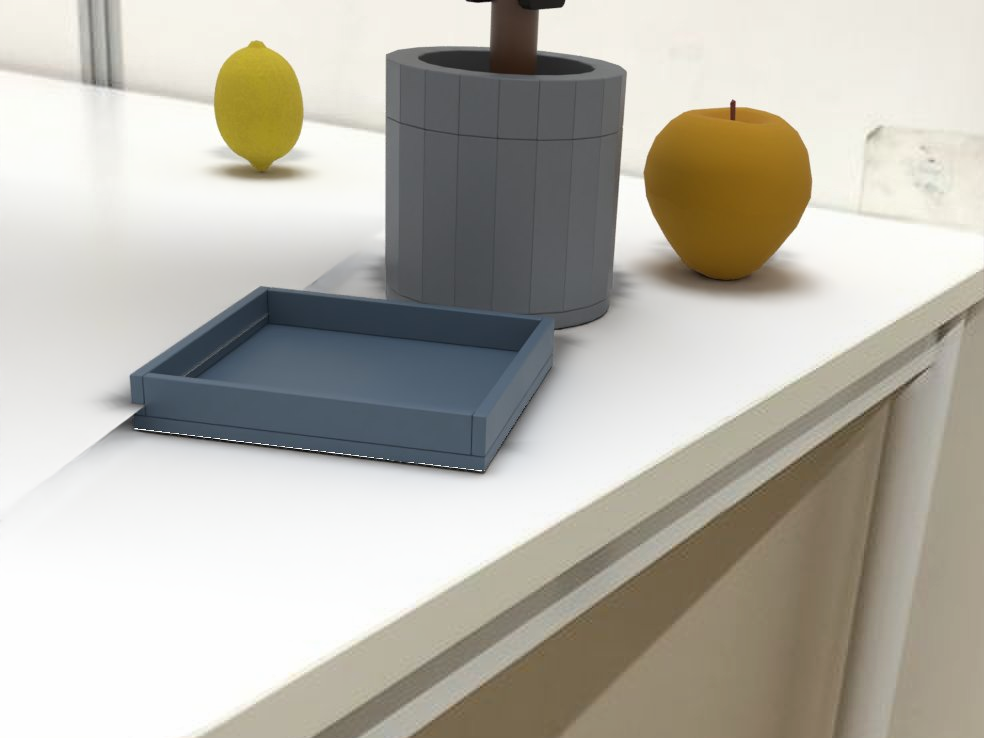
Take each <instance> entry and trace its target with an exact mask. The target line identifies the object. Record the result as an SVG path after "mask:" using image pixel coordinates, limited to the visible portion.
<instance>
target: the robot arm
mask: <svg viewBox="0 0 984 738" xmlns="http://www.w3.org/2000/svg"><path fill="white" fill-rule="evenodd" d="M465 2H467V3H474V4H482V3H483V4H484V3H491V0H465ZM518 3H519V5H521V7H522V8H523V9H529V10H539V11H540V10H541V11H542V10H551V9H562V8H563V7H564V6H565V4H566V0H518Z"/></svg>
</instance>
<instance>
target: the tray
mask: <svg viewBox="0 0 984 738" xmlns="http://www.w3.org/2000/svg"><path fill="white" fill-rule="evenodd" d="M554 325H555V319H554V318H548V317H544V318H543V317H539V316H530V315H521V314H512V313H502V312H493V311H484V310H475V309H466V308H457V307H448V306H439V305H430V304H420V303H411V302H402V301H393V300H388V299H385V298H384V299H382V298H374V297H365V296H364V297H363V296H357V295H355V296H354V295H346V294H337V293H327V292H319V291H311V290H301V289H291V288H282V287H273V286H263V285H260V286H258V287H257V288H255V289H254V290H252V291H251V292H250V293H248V294H247V295H245V296H244V297H242V298H241V299H239V300H237V301H236V302H235V303H233V304H232V305H230V306H229V307H227V308H226V309H225V310H223V311H221V312H220V313H218V314H217V315H215V316H214V317H212V318H211V319H210V320H208V321H207V322H205V323H204V324H202V325H201V326H199V327H198V328H196V329H195V330H193V331H192V332H190V333H189V334H187V335H186V336H185V337H183V338H182V339H180V340H179V341H177V342H176V343H174V344H172V346H170V347H168V348H167V349H165V350H164V351H163V352H161V353H160V354H158V355H157V356H155V357H154V358H152V359H151V360H149V361H148V362H147V363H145V364H143V365H142V366H141V367H139V368H138V369H136V370H135V371H133V372H132V373H130V374H129V386H130V387H129V388H130V398H131V400H130V401H131V404H137V405H144V406H142V407H141V408H140V409H138V410H137V411H136V412H134V413H133V415H132V424H133V429H134V428H138V429H146V430H154V431H162V432H170V433H179V434H187V435H195V436H203V437H211V438H220V439H228V440H236V441H244V442H252V443H261V444H269V445H277V446H285V447H293V448H302V449H310V450H318V451H326V452H335V453H343V454H351V455H359V456H367V457H374V458H383V459H384V460H383V461H385V460H387V459H389V460H394V461H401V462H400V463H402V462H414V463H417V464H416V465H418V463H425V464H433V465H441V466H449V467H458V468H466V469H474V470H482V471H484V470H485V469H486V468H488V467H489V465H490V464H491V462H492V461H493V459H494V458H495V456H496V454H497V453H498V451H499V450H498V449H500V448H501V447H502V445H503V443H504V442H505V440H506V439H507V437H508V435H509V434H510V432H511V431H512V429H513V428H514V426H515V424H516V423H517V421H518V420H519V418H520V417H519V416H521V415H522V413H523V412H524V410H525V409H526V407H527V406H528V404H529V402H530V401H531V399H532V398H533V396H534V395H533V394H535V393H536V391H537V390H538V388H539V387H540V386H541V383H542V382H543V380H544V379H545V378H546V376H547V374H548V373H549V372H550V370H551V368H552V366H553V363H554V361H553V360H554V359H553V358H554V345H555V344H554V343H555V329H554ZM531 397H532V398H531ZM529 400H530V401H529ZM526 405H527V406H526ZM525 406H526V407H525ZM524 408H525V409H524ZM523 409H524V410H523ZM522 411H523V412H522ZM520 414H521V415H520ZM518 417H519V418H518ZM517 419H518V420H517ZM516 420H517V421H516ZM515 422H516V423H515ZM513 425H514V426H513ZM512 427H513V428H512ZM511 428H512V429H511ZM510 430H511V431H510ZM509 431H510V432H509ZM508 433H509V434H508ZM506 436H507V437H506ZM505 438H506V439H505ZM504 439H505V440H504ZM503 441H504V442H503ZM502 442H503V443H502ZM501 444H502V445H501ZM499 447H500V448H499ZM497 450H498V451H497ZM496 452H497V453H496ZM495 453H496V454H495ZM494 455H495V456H494ZM492 458H493V459H492ZM491 460H492V461H491ZM490 461H491V462H490ZM489 463H490V464H489ZM488 464H489V465H488ZM487 466H488V467H487ZM486 470H487V469H486ZM486 470H485V471H486Z"/></svg>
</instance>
